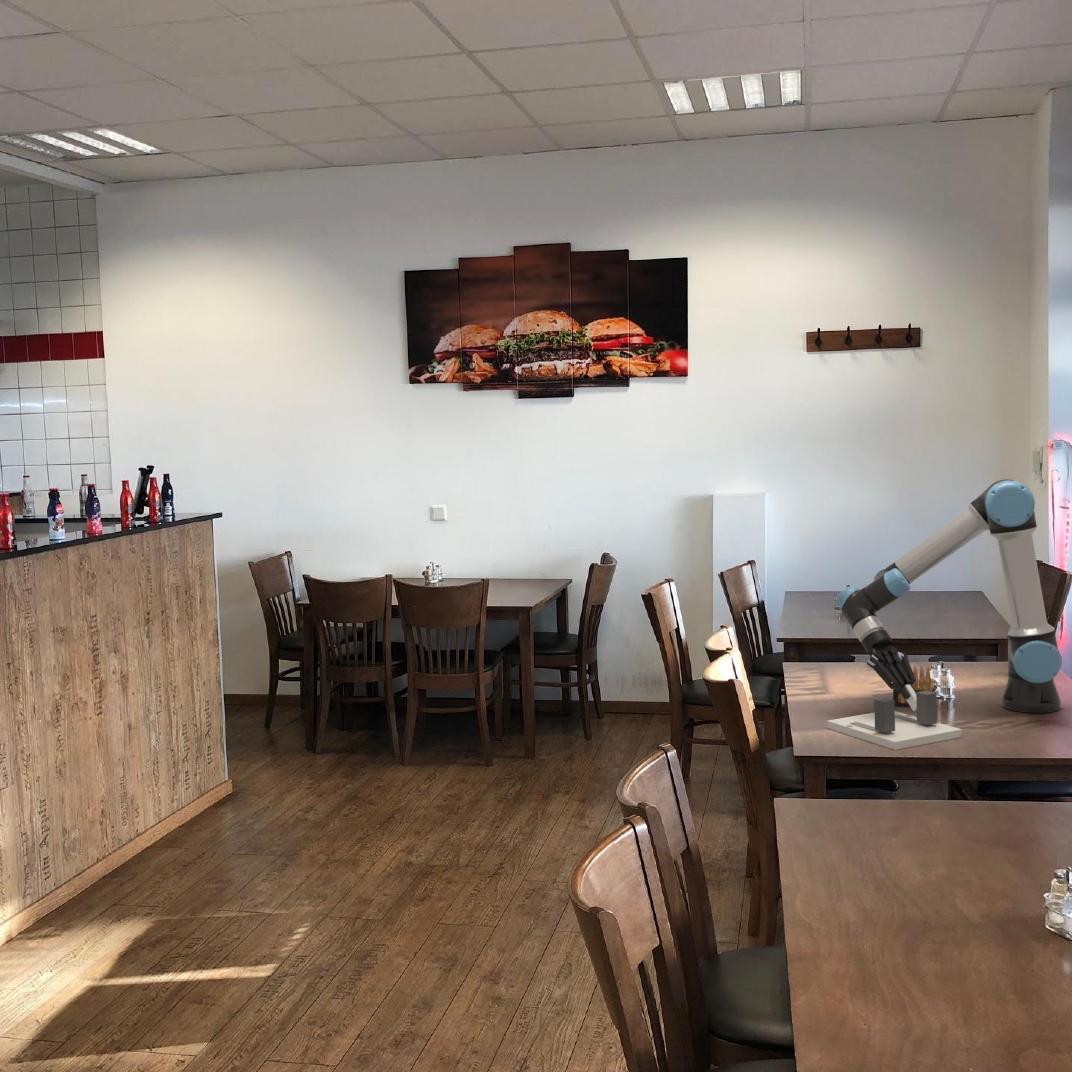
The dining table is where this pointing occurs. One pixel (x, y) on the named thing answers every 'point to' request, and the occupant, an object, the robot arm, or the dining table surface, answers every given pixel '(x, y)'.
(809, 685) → the dining table surface
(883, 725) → the block
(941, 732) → the switch panel
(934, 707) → the block
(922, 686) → the ammunition clip
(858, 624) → the robot arm
